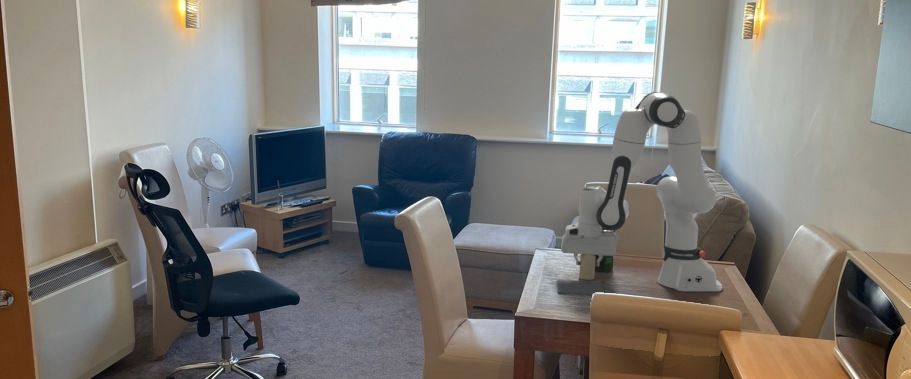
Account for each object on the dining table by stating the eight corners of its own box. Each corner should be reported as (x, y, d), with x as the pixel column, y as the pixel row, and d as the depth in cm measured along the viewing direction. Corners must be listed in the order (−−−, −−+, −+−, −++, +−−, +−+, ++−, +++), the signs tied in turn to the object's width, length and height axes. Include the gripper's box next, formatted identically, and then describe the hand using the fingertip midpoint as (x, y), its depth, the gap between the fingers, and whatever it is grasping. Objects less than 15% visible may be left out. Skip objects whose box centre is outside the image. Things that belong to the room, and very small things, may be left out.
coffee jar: (616, 271, 270) (619, 224, 266) (600, 273, 266) (603, 226, 263) (600, 264, 278) (603, 219, 275) (584, 266, 274) (587, 220, 271)
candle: (594, 280, 257) (595, 254, 255) (579, 279, 258) (580, 253, 256) (594, 276, 262) (595, 250, 260) (579, 275, 263) (580, 249, 261)
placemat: (601, 283, 254) (601, 282, 254) (604, 296, 240) (604, 295, 240) (557, 281, 256) (557, 279, 255) (558, 293, 242) (558, 292, 242)
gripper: (617, 228, 258) (615, 264, 261) (561, 226, 261) (560, 261, 263) (619, 233, 252) (616, 269, 255) (562, 230, 255) (560, 266, 257)
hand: (587, 265), depth 259 cm, fingers closed on candle, 5 cm apart
